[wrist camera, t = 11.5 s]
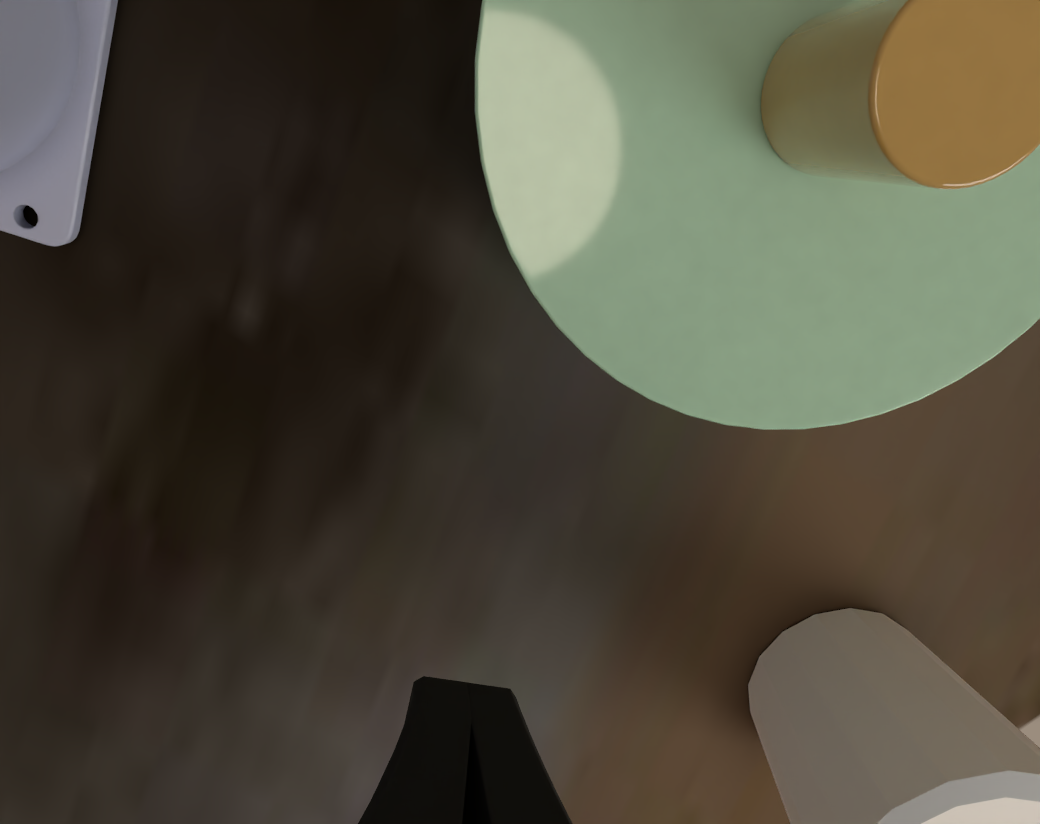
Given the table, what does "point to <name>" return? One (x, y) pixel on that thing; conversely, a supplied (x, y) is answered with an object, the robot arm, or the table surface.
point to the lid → (769, 192)
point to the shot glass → (884, 731)
